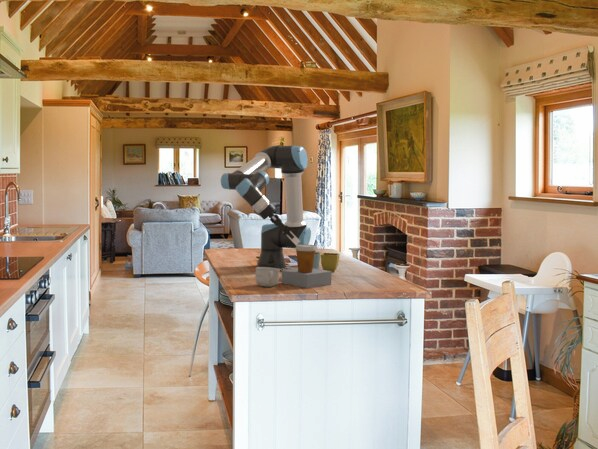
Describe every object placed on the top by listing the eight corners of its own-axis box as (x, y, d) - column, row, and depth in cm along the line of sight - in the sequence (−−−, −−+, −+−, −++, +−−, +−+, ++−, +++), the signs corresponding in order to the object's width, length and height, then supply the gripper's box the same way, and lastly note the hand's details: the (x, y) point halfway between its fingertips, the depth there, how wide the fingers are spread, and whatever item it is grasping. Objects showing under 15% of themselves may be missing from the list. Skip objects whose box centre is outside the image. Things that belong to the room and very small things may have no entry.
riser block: (281, 283, 299) (281, 270, 299) (305, 279, 311) (305, 267, 310) (307, 288, 288) (307, 274, 288) (331, 284, 300) (331, 271, 299)
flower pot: (336, 272, 335) (337, 255, 334) (319, 272, 337) (320, 254, 336) (339, 270, 344) (339, 253, 343) (322, 269, 345) (323, 252, 345)
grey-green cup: (305, 279, 312) (305, 254, 311) (295, 276, 321) (296, 251, 320) (323, 278, 317) (324, 253, 316) (313, 275, 326) (314, 251, 325)
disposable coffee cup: (318, 271, 298) (319, 245, 297) (312, 274, 289) (313, 247, 288) (298, 269, 301) (299, 243, 300) (291, 272, 292) (292, 245, 291)
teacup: (254, 283, 297) (255, 266, 296) (278, 283, 298) (279, 266, 297) (255, 289, 283) (255, 270, 282) (280, 289, 284) (281, 271, 283)
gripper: (256, 211, 307) (287, 244, 310) (259, 215, 282) (293, 250, 285) (268, 200, 307) (299, 233, 310) (272, 203, 282) (305, 238, 285)
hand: (296, 241), depth 298 cm, fingers open, 13 cm apart
